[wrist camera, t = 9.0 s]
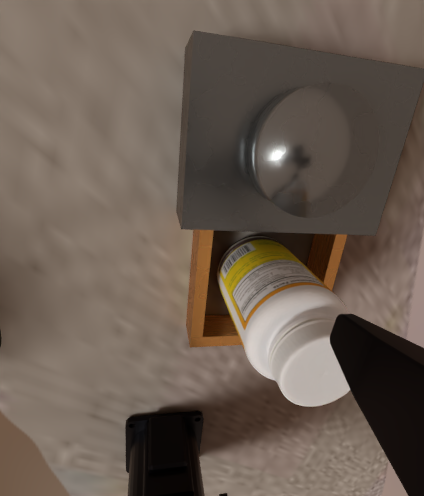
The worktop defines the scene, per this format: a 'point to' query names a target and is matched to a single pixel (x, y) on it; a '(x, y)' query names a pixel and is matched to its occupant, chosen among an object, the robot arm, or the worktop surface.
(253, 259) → the supplement bottle
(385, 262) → the worktop surface
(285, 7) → the worktop surface
